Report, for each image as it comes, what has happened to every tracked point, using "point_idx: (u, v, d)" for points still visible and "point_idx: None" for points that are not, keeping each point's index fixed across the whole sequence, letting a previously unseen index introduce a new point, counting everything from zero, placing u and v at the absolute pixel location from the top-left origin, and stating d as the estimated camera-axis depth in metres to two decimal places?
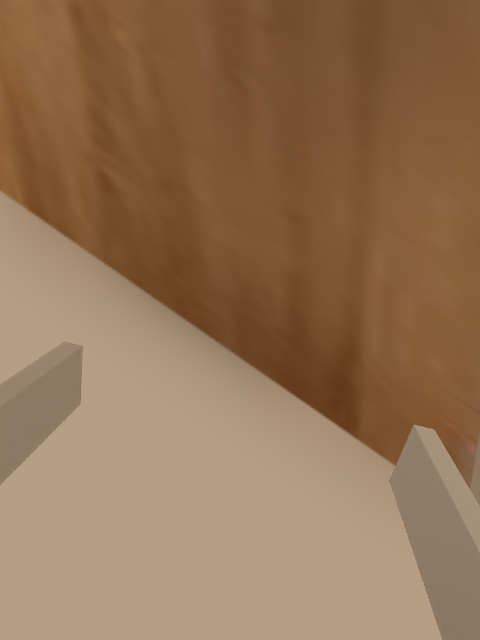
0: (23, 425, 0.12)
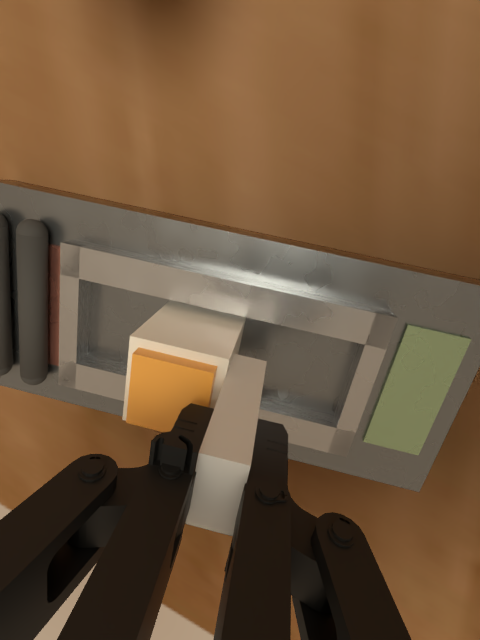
0: None
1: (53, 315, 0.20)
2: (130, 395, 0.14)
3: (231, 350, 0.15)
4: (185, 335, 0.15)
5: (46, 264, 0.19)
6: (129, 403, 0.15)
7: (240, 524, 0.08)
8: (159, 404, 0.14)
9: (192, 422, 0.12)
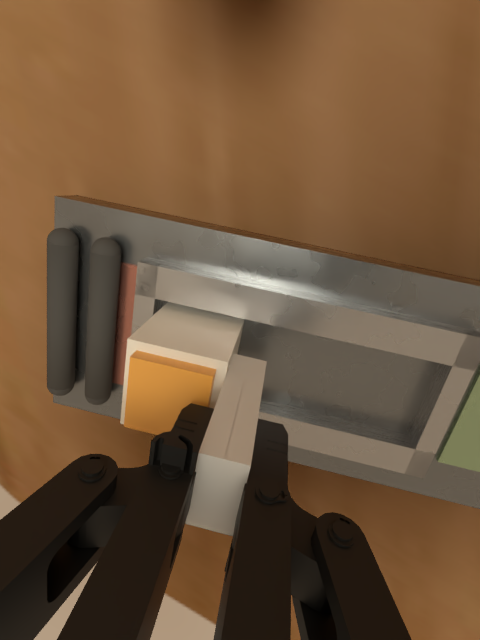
0: None
1: (120, 334, 0.20)
2: (128, 399, 0.14)
3: (230, 353, 0.15)
4: (183, 337, 0.15)
5: (118, 283, 0.18)
6: (127, 407, 0.14)
7: (240, 524, 0.08)
8: (157, 408, 0.14)
9: (192, 422, 0.12)
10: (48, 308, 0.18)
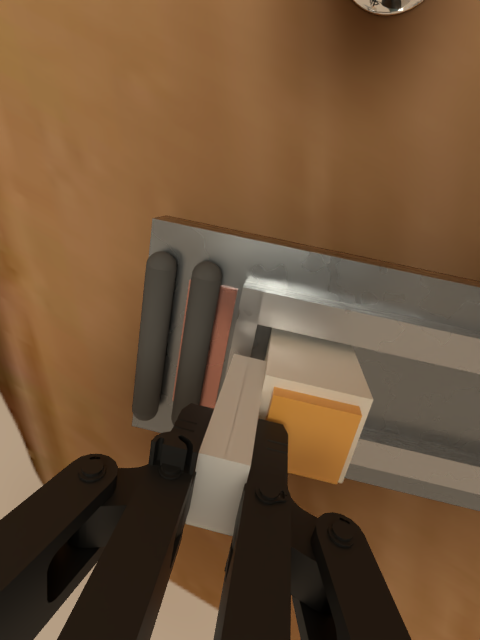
0: None
1: (210, 358, 0.19)
2: None
3: (367, 388, 0.14)
4: (314, 370, 0.15)
5: None
6: None
7: (240, 524, 0.08)
8: (295, 446, 0.14)
9: (192, 422, 0.12)
10: (142, 333, 0.18)
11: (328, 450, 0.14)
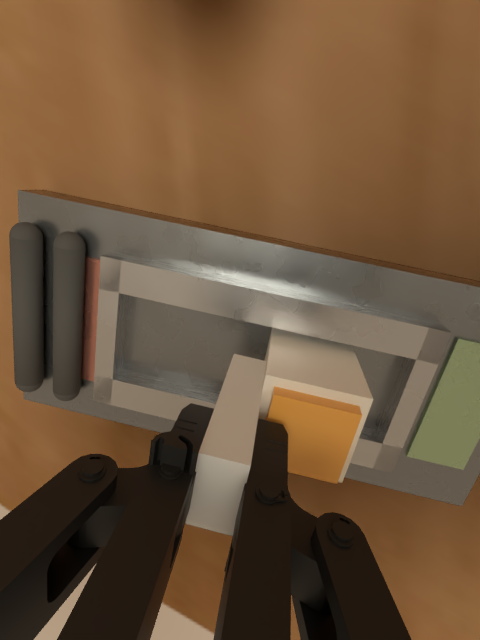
0: None
1: (87, 329, 0.20)
2: None
3: (367, 387, 0.14)
4: (313, 370, 0.15)
5: (83, 277, 0.18)
6: None
7: (240, 524, 0.08)
8: (296, 446, 0.14)
9: (192, 422, 0.12)
10: (13, 303, 0.18)
11: (328, 450, 0.14)
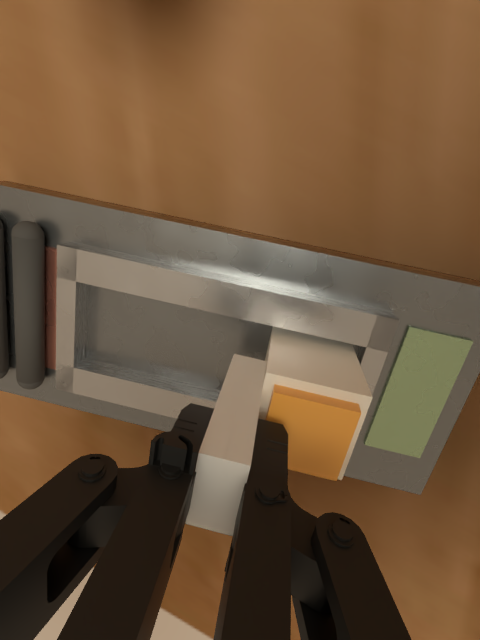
0: None
1: (49, 318, 0.20)
2: None
3: (366, 385, 0.14)
4: (314, 368, 0.15)
5: (43, 266, 0.18)
6: None
7: (240, 524, 0.08)
8: (295, 443, 0.14)
9: (192, 422, 0.12)
10: None
11: (328, 447, 0.14)
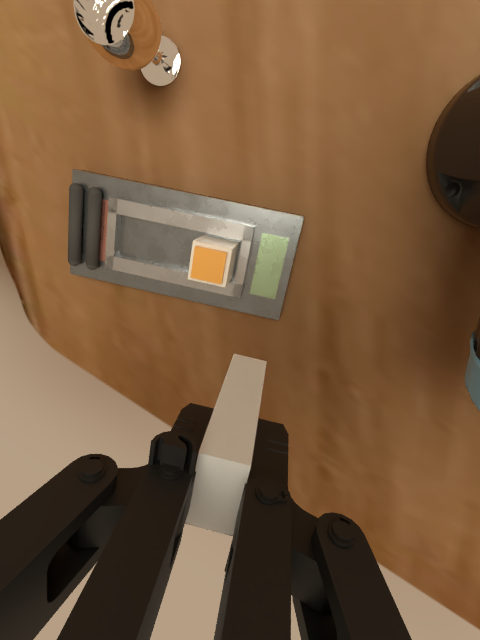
0: None
1: (102, 234, 0.42)
2: (192, 264, 0.36)
3: (233, 247, 0.37)
4: (214, 242, 0.37)
5: None
6: (192, 268, 0.37)
7: (240, 524, 0.08)
8: (204, 268, 0.36)
9: (192, 422, 0.12)
10: (69, 220, 0.41)
11: (216, 269, 0.36)
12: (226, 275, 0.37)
